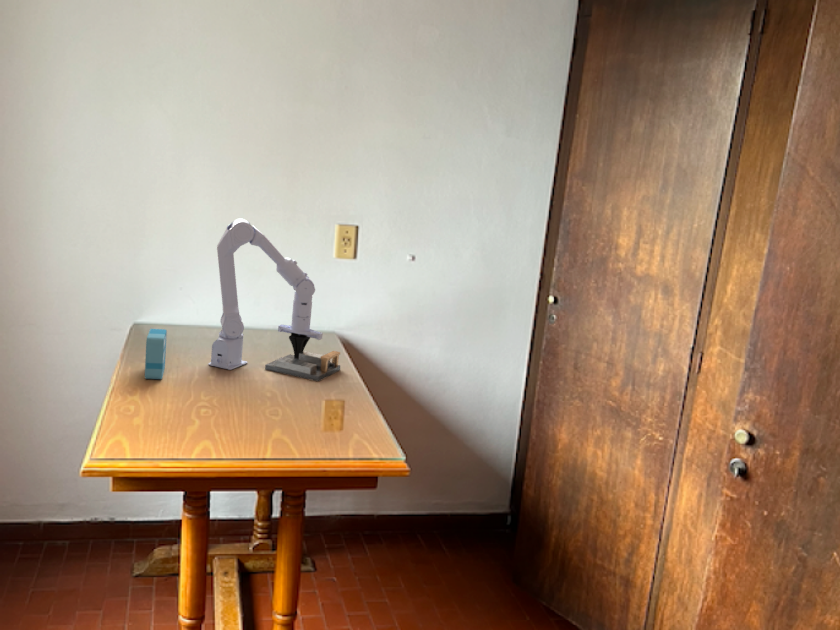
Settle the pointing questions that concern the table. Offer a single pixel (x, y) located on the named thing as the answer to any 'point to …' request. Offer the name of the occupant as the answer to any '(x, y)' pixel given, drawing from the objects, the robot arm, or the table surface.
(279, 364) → the base
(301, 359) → the bar
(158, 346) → the data package
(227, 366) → the robot arm
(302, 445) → the table surface
